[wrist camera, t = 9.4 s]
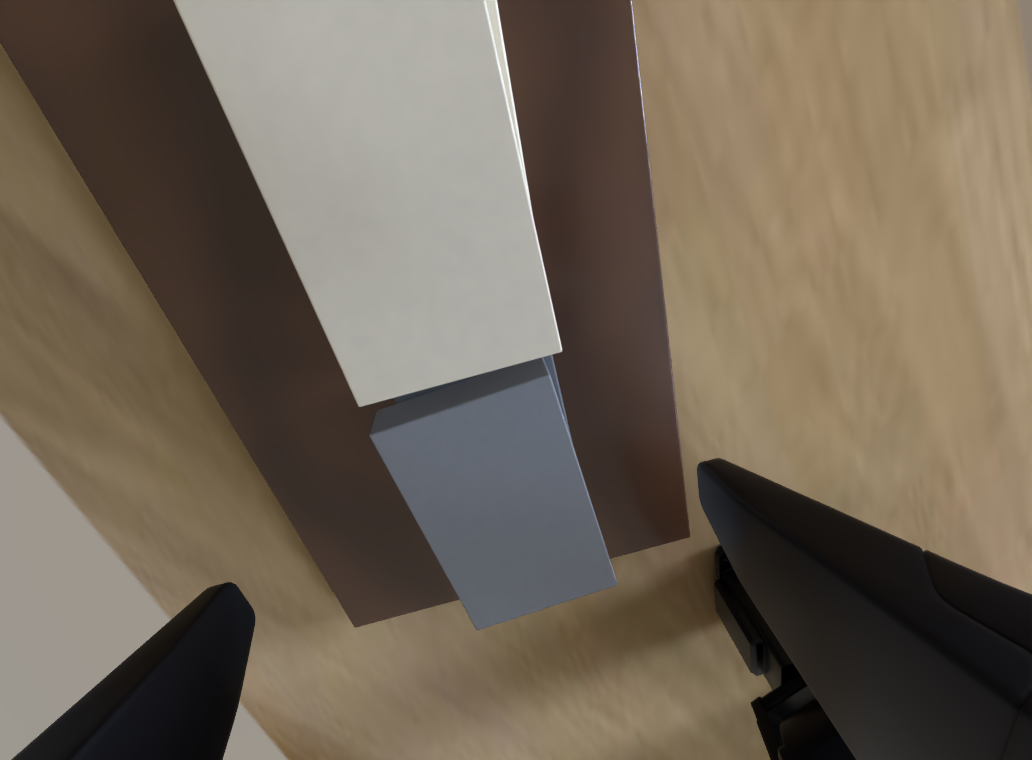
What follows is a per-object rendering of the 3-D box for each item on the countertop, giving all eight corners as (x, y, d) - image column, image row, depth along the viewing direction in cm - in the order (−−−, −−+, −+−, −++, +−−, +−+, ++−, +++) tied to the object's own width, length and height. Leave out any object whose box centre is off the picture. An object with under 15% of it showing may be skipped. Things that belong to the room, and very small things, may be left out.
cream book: (446, -136, 10) (444, -190, 9) (551, 330, 15) (563, 352, 14) (177, -61, 10) (126, -101, 9) (369, 380, 15) (358, 408, 14)
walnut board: (591, -206, 14) (606, -245, 12) (678, 517, 26) (690, 537, 25) (-12, -37, 14) (-62, -58, 12) (359, 604, 26) (354, 628, 25)
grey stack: (552, 331, 19) (571, 368, 16) (597, 532, 24) (619, 592, 21) (379, 378, 19) (363, 425, 16) (459, 570, 24) (460, 635, 21)
